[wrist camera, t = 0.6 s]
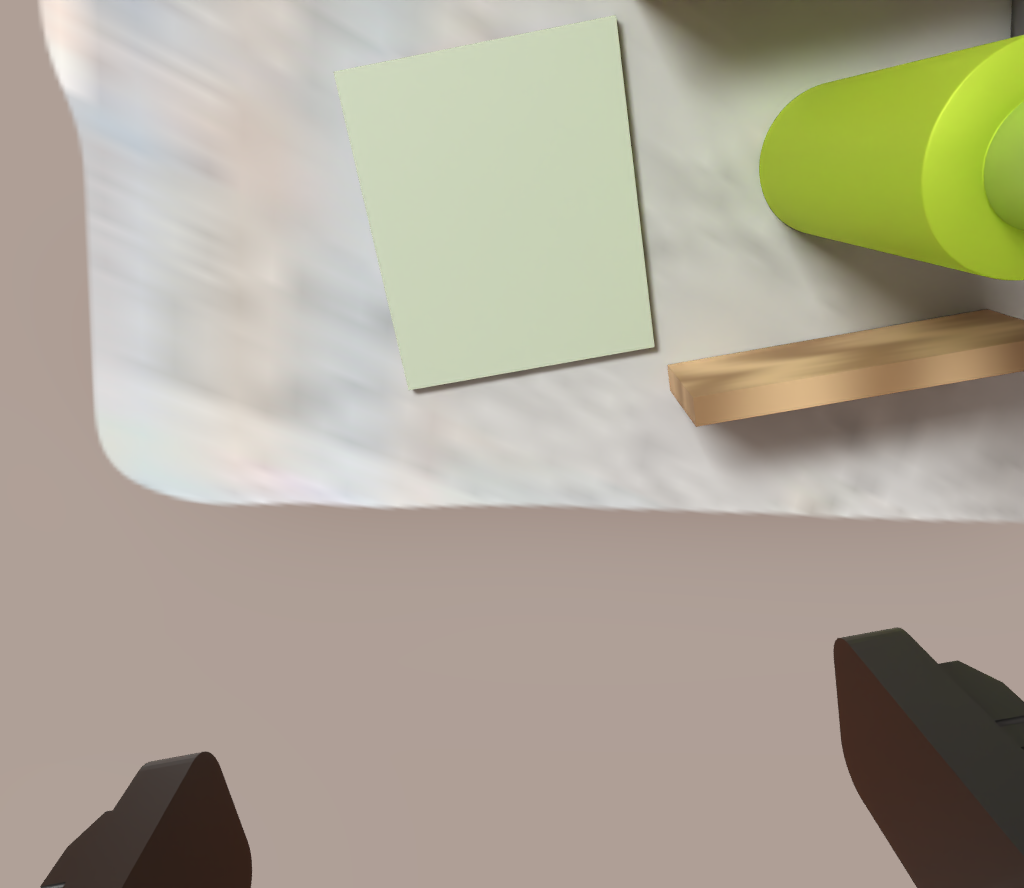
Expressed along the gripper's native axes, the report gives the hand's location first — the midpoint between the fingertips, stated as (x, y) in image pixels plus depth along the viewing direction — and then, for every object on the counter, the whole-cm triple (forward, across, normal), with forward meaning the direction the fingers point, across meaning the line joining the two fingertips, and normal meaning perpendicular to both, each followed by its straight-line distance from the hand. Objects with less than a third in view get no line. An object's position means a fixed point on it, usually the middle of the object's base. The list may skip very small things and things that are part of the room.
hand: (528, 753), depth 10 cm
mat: (+25, -1, -6) cm, 26 cm away
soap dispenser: (+25, -14, -6) cm, 29 cm away
